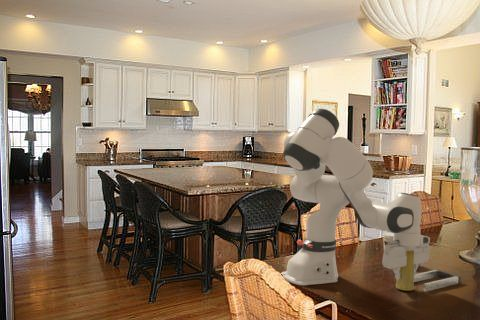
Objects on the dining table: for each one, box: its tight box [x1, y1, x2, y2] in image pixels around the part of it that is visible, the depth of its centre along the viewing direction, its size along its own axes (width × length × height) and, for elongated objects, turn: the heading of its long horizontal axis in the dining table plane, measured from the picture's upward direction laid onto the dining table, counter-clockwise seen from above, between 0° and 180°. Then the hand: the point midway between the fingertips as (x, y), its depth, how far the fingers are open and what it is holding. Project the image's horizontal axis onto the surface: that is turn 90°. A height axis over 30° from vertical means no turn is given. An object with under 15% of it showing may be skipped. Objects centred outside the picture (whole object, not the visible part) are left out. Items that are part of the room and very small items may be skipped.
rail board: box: [414, 268, 462, 292], centre depth 158 cm, size 20×10×2 cm, turn 119°
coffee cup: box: [382, 231, 394, 250], centre depth 185 cm, size 9×9×12 cm
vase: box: [395, 250, 415, 292], centre depth 151 cm, size 6×6×14 cm
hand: (405, 277), depth 151 cm, fingers closed on vase, 6 cm apart
